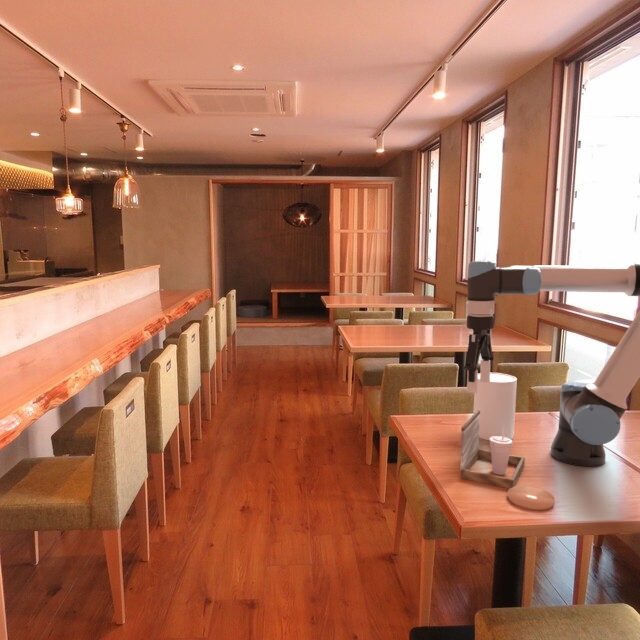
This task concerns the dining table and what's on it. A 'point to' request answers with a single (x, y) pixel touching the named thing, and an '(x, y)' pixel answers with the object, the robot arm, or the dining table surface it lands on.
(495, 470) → the smoothie
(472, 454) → the box
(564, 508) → the dining table surface
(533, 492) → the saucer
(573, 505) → the dining table surface
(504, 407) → the canister
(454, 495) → the dining table surface
